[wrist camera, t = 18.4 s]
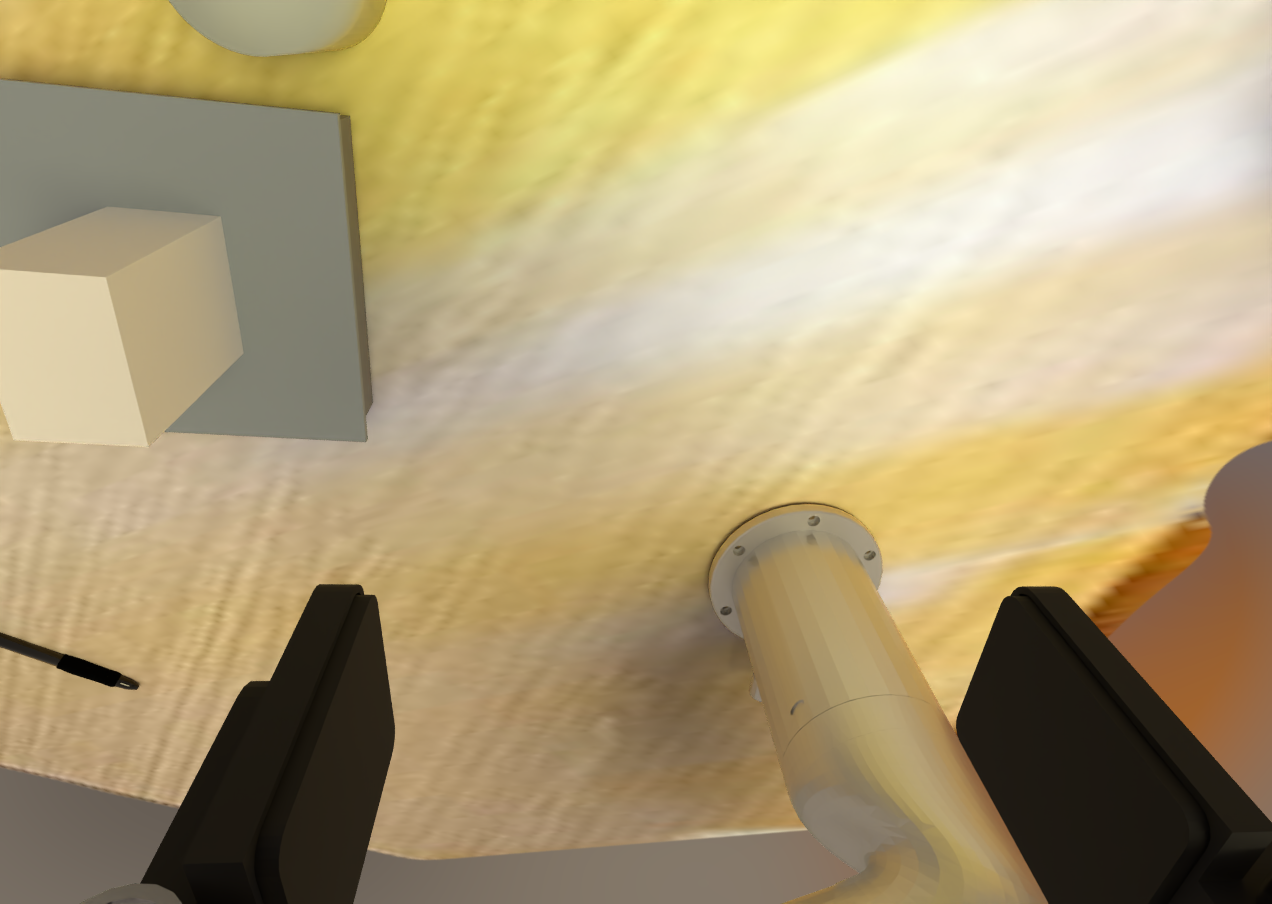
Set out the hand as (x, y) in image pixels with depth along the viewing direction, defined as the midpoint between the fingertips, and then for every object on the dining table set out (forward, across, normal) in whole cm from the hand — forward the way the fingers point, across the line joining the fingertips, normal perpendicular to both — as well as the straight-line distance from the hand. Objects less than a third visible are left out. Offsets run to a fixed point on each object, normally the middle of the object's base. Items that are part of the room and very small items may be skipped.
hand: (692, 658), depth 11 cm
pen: (+34, +39, +32) cm, 61 cm away
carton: (+29, +21, +4) cm, 36 cm away
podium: (+33, +22, +4) cm, 40 cm away
